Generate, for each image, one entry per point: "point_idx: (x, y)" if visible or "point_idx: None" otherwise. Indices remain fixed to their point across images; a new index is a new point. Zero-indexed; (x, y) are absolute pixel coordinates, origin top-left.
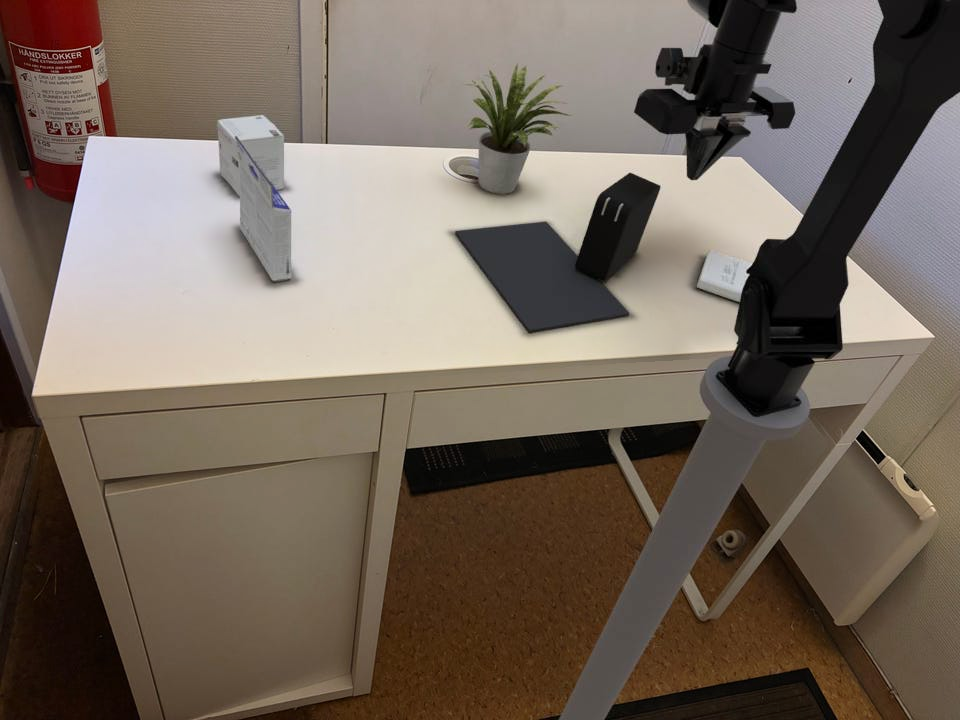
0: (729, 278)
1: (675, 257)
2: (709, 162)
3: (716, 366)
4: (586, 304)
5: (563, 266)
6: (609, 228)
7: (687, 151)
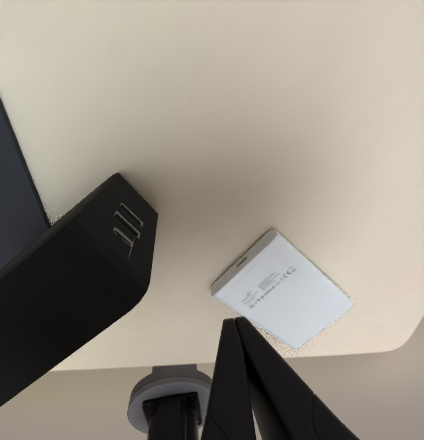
0: (255, 297)
1: (225, 220)
2: (262, 438)
3: (150, 393)
4: None
5: (7, 239)
6: None
7: (206, 414)
